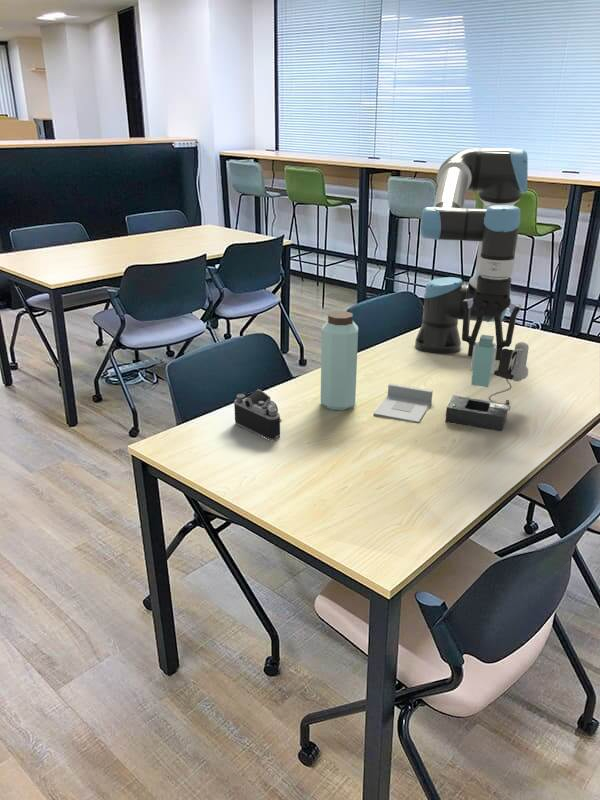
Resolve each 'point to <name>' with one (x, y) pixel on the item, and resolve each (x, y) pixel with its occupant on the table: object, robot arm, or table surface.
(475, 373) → the plug
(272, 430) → the camera
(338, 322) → the water bottle
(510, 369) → the clip-on lamp
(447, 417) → the port
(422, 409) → the grey lipped plate
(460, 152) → the robot arm
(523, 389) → the table surface
